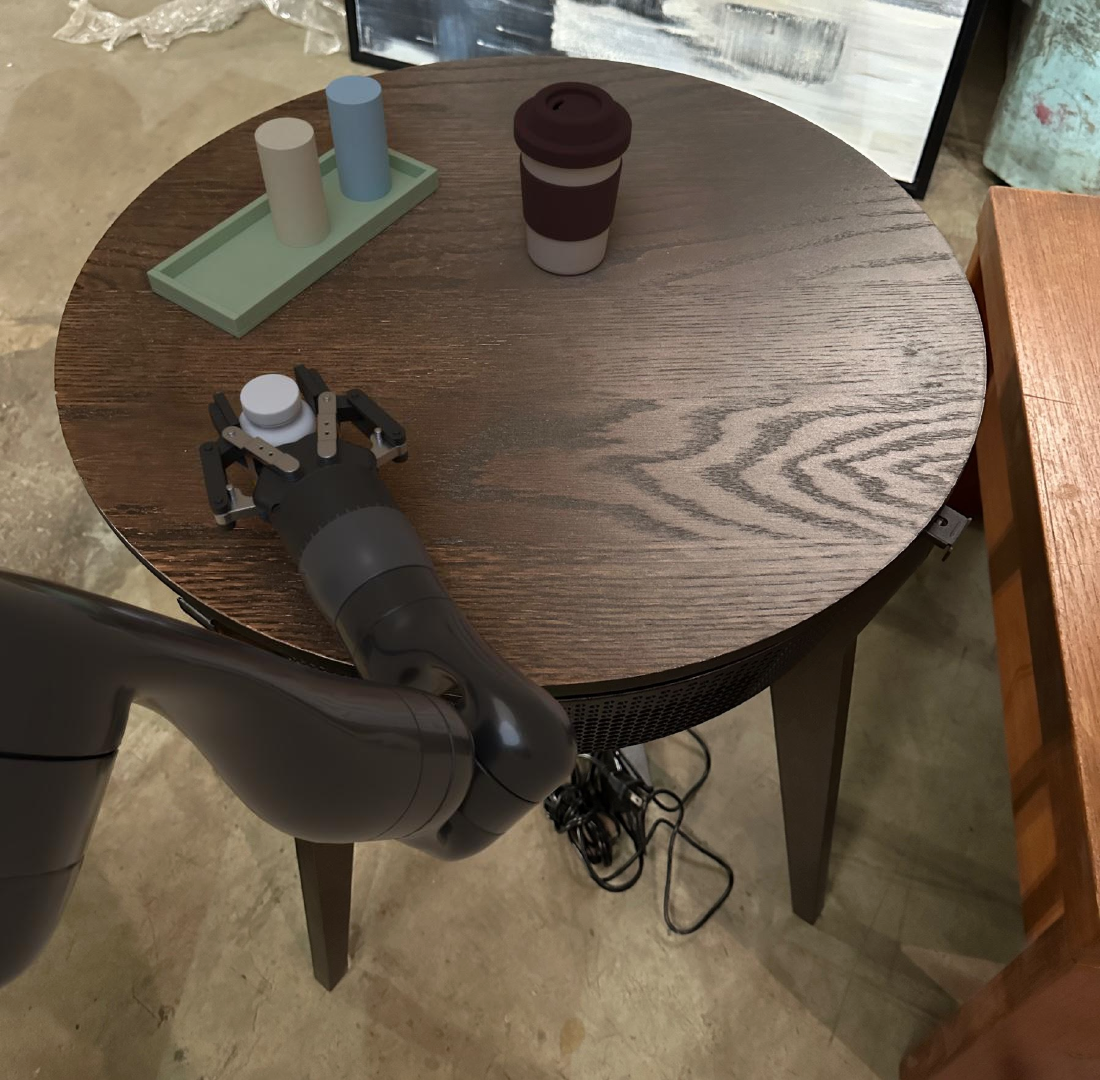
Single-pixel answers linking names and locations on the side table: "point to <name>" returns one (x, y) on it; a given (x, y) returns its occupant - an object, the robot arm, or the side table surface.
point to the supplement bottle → (275, 410)
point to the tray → (280, 249)
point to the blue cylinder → (359, 137)
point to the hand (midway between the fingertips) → (260, 388)
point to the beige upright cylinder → (293, 181)
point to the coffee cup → (570, 173)
